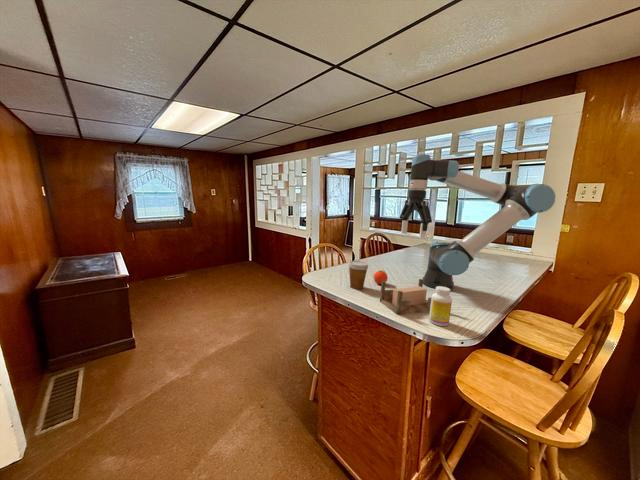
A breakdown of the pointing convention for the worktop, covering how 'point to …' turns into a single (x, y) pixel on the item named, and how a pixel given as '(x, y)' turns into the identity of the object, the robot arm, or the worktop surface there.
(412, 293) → the pinkish tan block
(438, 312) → the supplement bottle
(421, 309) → the rack
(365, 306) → the worktop surface
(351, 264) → the disposable coffee cup
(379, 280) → the clementine
